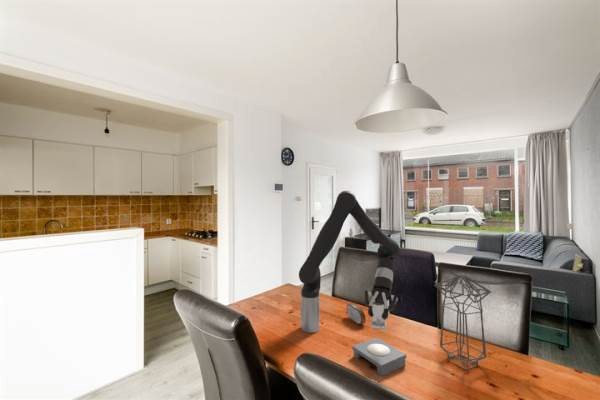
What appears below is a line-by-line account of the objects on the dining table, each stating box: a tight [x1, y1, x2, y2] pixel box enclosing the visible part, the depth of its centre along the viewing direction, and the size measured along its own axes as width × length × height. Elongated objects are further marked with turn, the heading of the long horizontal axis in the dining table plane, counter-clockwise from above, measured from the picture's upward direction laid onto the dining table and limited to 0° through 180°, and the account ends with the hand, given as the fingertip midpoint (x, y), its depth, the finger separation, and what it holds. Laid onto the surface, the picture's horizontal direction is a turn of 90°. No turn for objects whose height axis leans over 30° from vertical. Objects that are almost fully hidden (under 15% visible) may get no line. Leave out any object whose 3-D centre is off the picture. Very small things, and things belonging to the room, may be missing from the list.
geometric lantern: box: [434, 274, 493, 371], centre depth 109 cm, size 16×16×35 cm
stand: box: [351, 337, 407, 377], centre depth 111 cm, size 16×14×4 cm
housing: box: [369, 301, 388, 331], centre depth 111 cm, size 7×7×10 cm
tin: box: [346, 302, 366, 325], centre depth 148 cm, size 15×3×8 cm, turn 22°
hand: (377, 317), depth 109 cm, fingers closed on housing, 5 cm apart
